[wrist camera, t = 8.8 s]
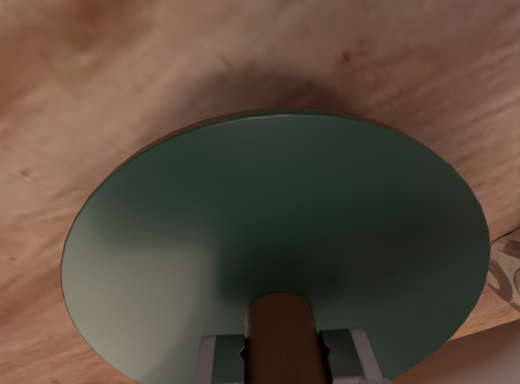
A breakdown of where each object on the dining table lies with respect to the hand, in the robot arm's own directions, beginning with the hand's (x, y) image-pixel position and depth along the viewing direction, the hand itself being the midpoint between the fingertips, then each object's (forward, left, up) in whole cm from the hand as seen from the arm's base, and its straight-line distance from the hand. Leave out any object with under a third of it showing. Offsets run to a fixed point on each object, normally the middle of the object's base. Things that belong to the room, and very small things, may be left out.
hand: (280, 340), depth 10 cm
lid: (0, 0, -2) cm, 2 cm away
